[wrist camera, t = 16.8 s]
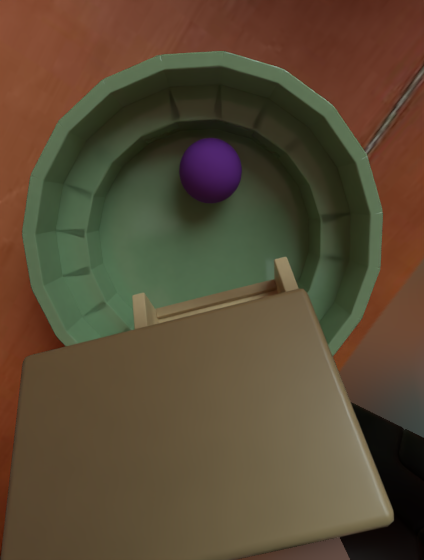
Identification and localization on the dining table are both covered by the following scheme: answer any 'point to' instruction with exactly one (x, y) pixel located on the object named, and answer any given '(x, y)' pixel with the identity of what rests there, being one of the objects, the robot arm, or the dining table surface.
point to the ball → (210, 170)
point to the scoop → (191, 437)
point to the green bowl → (190, 212)
